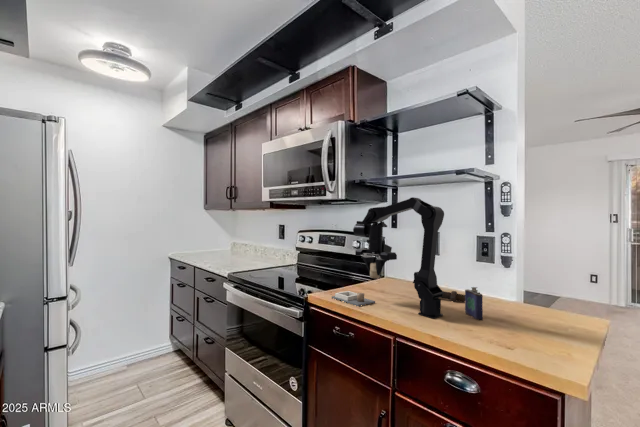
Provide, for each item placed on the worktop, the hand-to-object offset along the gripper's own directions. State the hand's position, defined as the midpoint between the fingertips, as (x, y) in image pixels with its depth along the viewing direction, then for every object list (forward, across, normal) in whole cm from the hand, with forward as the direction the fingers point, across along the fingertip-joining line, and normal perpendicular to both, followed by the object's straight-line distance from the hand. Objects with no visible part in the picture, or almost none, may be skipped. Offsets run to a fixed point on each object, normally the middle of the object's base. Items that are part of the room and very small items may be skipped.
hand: (374, 274), depth 131 cm
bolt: (+12, -16, -29) cm, 35 cm away
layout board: (+11, +6, +7) cm, 14 cm away
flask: (+11, -35, -14) cm, 40 cm away
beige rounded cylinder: (+1, 0, 0) cm, 1 cm away
